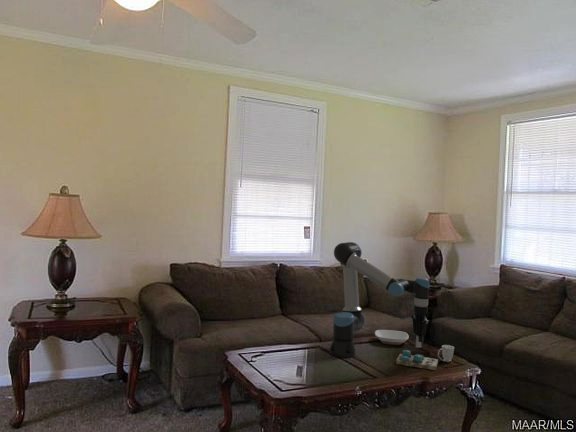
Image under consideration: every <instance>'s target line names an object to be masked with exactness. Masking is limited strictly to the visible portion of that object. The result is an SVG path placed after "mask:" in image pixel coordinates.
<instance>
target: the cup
mask: <svg viewBox="0 0 576 432" xmlns="http://www.w3.org/2000/svg"><path fill="white" fill-rule="evenodd" d="M441 351H442V352H441ZM454 351H455V347H454V346H453V345H450V344H443V345H441V348H439V349H438V352H437V357H438V359H439V360H441V361H443V362H447V363H450V361H451V362H452V359H453V357H454ZM440 352H441V353H442V357H443V359H442V358H441V357H440Z"/></svg>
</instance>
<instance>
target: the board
mask: <svg viewBox="0 0 576 432" xmlns="http://www.w3.org/2000/svg"><path fill="white" fill-rule="evenodd" d="M401 356H402V353H399V355H398V356H397V358H396V360H395V364H396V365H401V366H407V367H412V368H413V367H415V368H420V369H425V370H431V371H436V370H437V367H438V364H439V358H432V357H425V356H423V360H422V362H421V363H416V362H414V361H413V357H414V355H413V354H410V357H409V362H408V361H401V360H400V359H401Z"/></svg>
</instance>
